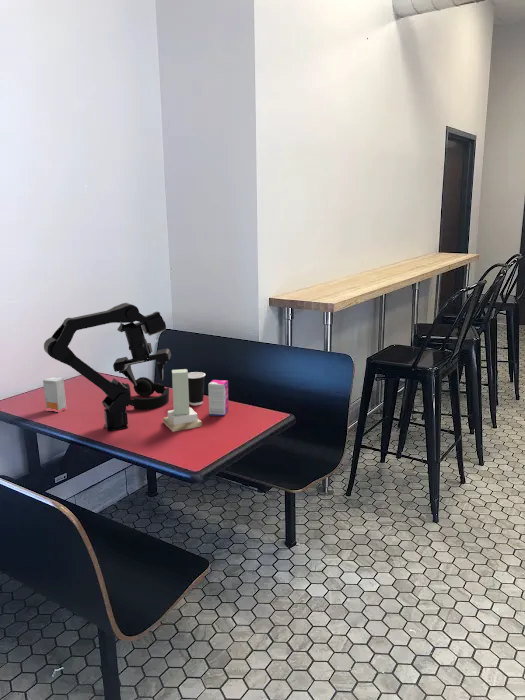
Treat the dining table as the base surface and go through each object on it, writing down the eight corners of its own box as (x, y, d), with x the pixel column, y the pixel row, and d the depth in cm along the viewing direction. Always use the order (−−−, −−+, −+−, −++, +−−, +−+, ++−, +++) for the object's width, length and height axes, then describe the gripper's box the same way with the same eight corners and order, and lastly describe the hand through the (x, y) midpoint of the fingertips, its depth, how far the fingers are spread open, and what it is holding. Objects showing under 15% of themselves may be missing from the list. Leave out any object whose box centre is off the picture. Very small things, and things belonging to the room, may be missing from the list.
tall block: (174, 414, 191) (172, 373, 188) (173, 410, 196) (171, 369, 193) (189, 413, 192) (187, 372, 189) (188, 409, 197) (186, 369, 194)
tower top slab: (174, 425, 190) (173, 417, 189) (167, 417, 197) (167, 410, 196) (197, 421, 193) (197, 413, 192) (190, 414, 200) (190, 407, 199)
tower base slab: (172, 434, 189) (172, 426, 188) (163, 424, 197) (163, 417, 197) (201, 428, 193) (201, 421, 192) (191, 419, 202) (191, 412, 201)
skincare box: (45, 411, 212) (42, 379, 210) (54, 408, 216) (50, 376, 213) (59, 413, 210) (55, 381, 207) (67, 409, 214) (63, 378, 211)
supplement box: (225, 416, 202) (223, 384, 199) (208, 415, 203) (207, 384, 200) (229, 411, 207) (228, 379, 205) (213, 410, 208) (211, 379, 206)
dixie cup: (181, 403, 218) (179, 374, 215) (199, 398, 222) (198, 370, 220) (192, 408, 211) (190, 378, 209) (210, 403, 216) (209, 374, 214)
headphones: (145, 372, 231) (179, 385, 219) (145, 390, 233) (179, 405, 221) (107, 383, 218) (141, 398, 206) (107, 402, 220) (141, 418, 208)
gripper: (167, 327, 200) (178, 369, 205) (114, 338, 201) (127, 379, 206) (162, 337, 189) (174, 381, 194) (106, 348, 190) (120, 392, 195)
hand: (149, 383), depth 197 cm, fingers open, 9 cm apart
